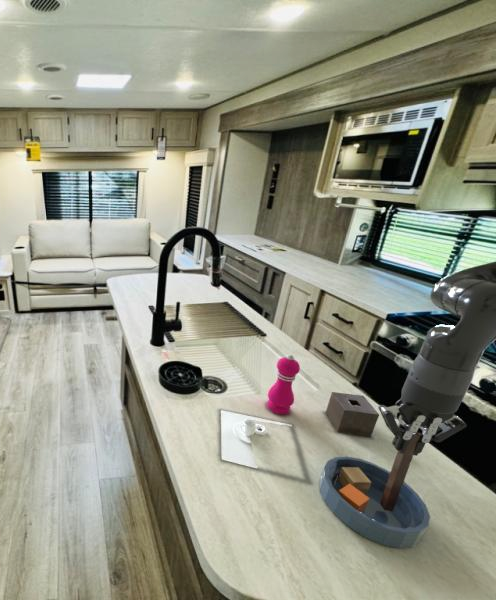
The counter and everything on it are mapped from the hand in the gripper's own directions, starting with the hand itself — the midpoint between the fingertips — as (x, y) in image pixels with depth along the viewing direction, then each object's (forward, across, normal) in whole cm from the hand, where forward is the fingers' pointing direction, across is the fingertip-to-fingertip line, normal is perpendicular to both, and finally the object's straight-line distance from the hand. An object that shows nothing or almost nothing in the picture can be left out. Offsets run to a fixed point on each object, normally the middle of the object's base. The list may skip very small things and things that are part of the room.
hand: (405, 450), depth 64 cm
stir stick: (+15, 0, -2) cm, 15 cm away
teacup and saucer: (+17, -22, +14) cm, 31 cm away
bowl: (+17, -3, -1) cm, 17 cm away
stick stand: (+17, +5, +27) cm, 32 cm away
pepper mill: (+17, -13, +30) cm, 37 cm away
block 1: (+16, -4, +4) cm, 17 cm away
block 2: (+16, -7, -2) cm, 18 cm away
